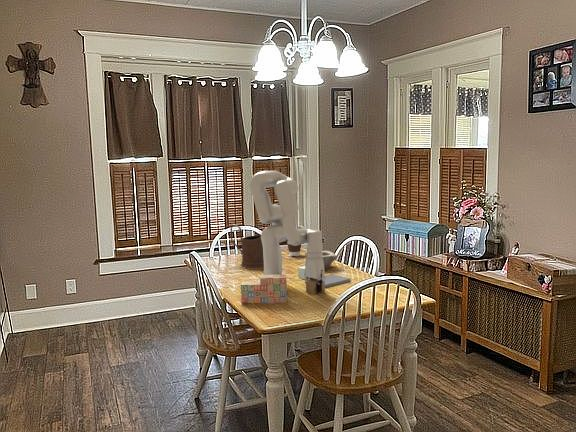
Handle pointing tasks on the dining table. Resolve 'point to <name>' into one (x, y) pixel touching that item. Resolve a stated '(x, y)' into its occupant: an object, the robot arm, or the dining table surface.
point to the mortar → (327, 258)
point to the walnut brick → (313, 286)
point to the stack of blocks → (265, 290)
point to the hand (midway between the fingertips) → (315, 290)
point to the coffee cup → (294, 249)
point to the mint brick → (301, 272)
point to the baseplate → (334, 280)
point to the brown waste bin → (251, 251)
